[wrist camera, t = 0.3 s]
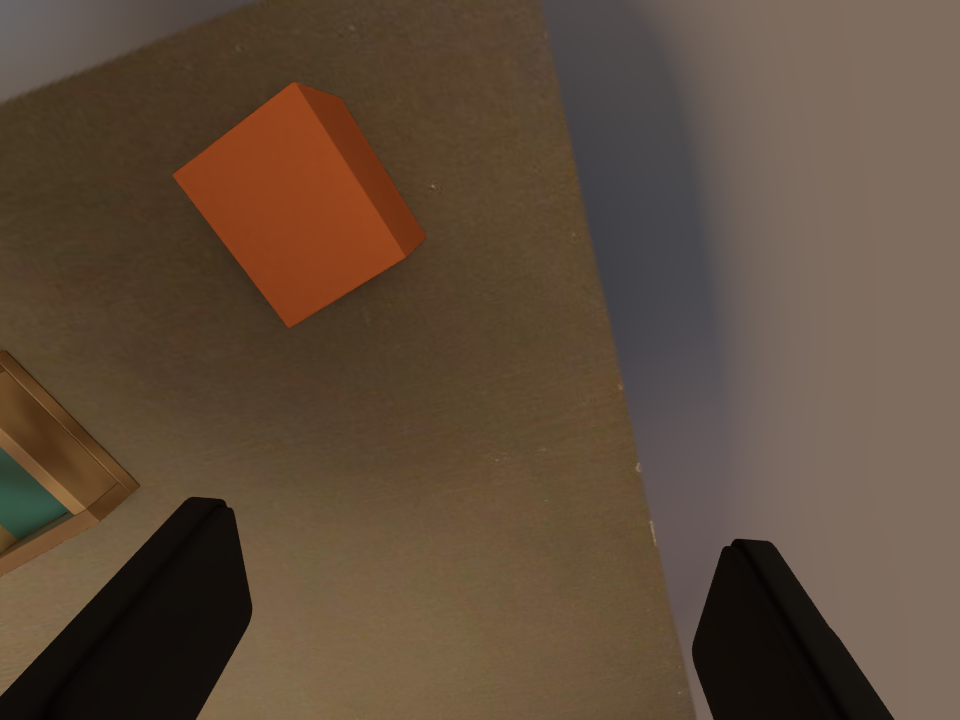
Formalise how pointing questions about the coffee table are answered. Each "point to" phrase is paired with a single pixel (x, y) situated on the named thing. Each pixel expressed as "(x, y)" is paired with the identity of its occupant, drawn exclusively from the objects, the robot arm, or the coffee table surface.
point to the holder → (48, 471)
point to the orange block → (301, 202)
